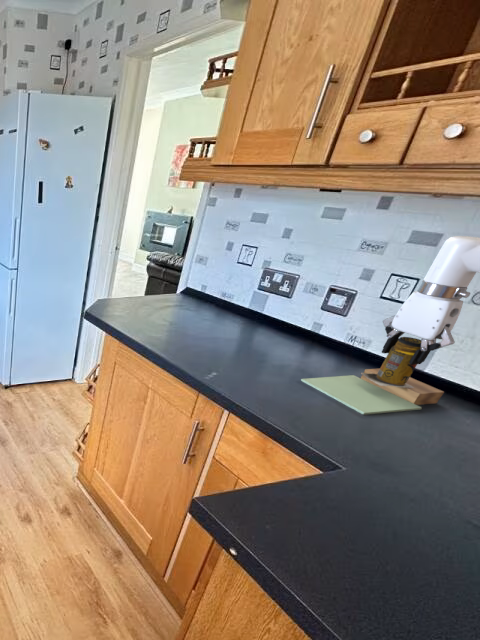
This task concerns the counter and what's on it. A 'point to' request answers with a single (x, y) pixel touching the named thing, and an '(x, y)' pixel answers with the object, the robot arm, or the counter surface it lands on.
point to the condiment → (397, 364)
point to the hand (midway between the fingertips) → (400, 357)
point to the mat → (360, 395)
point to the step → (410, 390)
